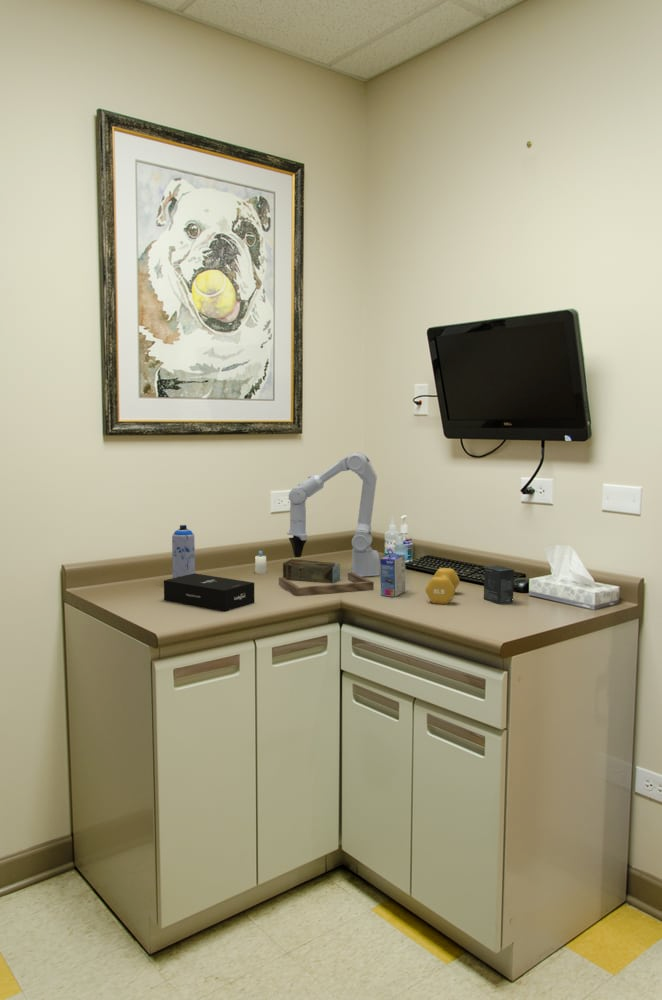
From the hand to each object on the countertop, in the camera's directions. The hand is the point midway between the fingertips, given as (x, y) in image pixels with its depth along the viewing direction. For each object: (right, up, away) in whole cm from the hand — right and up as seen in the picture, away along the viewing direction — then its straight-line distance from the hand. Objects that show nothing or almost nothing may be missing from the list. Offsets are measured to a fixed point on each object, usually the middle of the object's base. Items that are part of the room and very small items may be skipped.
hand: (297, 557), depth 280 cm
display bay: (+11, -8, -25) cm, 29 cm away
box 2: (+64, -11, -43) cm, 78 cm away
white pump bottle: (-13, -6, -1) cm, 15 cm away
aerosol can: (-38, -8, -20) cm, 44 cm away
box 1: (-25, -11, -46) cm, 54 cm away
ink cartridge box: (+32, -10, -34) cm, 48 cm away
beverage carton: (+5, -7, -12) cm, 15 cm away
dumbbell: (+48, -10, -39) cm, 63 cm away
